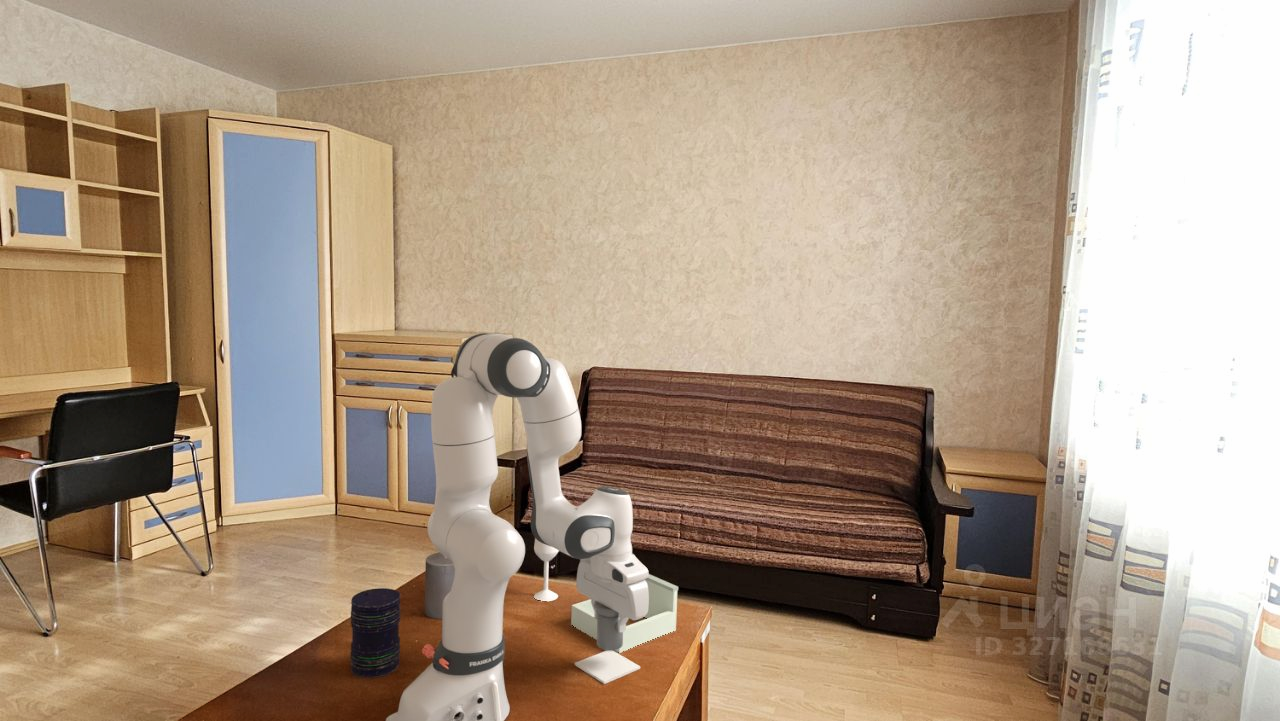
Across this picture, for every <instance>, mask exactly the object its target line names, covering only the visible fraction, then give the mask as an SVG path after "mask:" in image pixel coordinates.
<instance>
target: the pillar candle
mask: <svg viewBox="0 0 1280 721" xmlns="http://www.w3.org/2000/svg"><path fill="white" fill-rule="evenodd" d="M424 571H425V573H424V574H425V576H424V577H425V578H424V579H425V580H424V614H425V616H426V617H428V618H431V619H437V620H442V613H443V601H444V598H445V597H446V595H447V594H448V593H449V592H450V591H451V589H452V585H453V582H454V577H455V568H454V564H453V562H452V561H451V560H449V559H448V558H447V557H445V556H444V555H442V554H441V553H440V552H439V551H438V552H435V553H431V554H429V555H427V556H426V558H425V570H424Z"/></svg>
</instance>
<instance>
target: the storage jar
mask: <svg viewBox="0 0 1280 721" xmlns="http://www.w3.org/2000/svg"><path fill="white" fill-rule="evenodd" d="M350 604H351V606H350V607H351V609H350V626H351V628H352V631H351V632H352V633H351V637H352V639H351V643H350V655H349V656H350V663H351V664H350V665H351V666H350V672H351V673H352V675H354V676H355V677H358V678H364V679H373V678H379V677H383V676H386V675H389V674H392V673H393V672H394V671H395V670H397V669H398V668H399V666H400V655H401V654H400V653H401V638H400V635H399V633H400V632H399V631H400V630H399V629H400V626H399V624H400V621H401V593H400V592H399V591H398V590H395V589H394V588H393V589H392V588H386V587H385V588H384V587H382V588H381V587H379V588H378V587H377V588H371V589H367V590H363V591H359V592H358V593H356V594H354V595H353V596H352V597H351V602H350Z"/></svg>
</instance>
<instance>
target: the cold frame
mask: <svg viewBox="0 0 1280 721" xmlns="http://www.w3.org/2000/svg"><path fill="white" fill-rule="evenodd" d="M644 580H645V581H646V582H647V585H648V592H649V605H648V613H647V614H646V616H645V618H647V619H645V618H644V619H641V620H639V621H637V622H634V623H631V624H629V625H626V630H625V631H624V632H623V646H622V647H621V648H619V649H617V650H614V651H615V652H616V653H618V652H619V653H618V654H621V653H623V651H624V652H627V651H628V649H629V650H631V649H634V648H636V647H638V646H637V645H639V646H641V645H643V644H642V643H644V644H646V643H648V642H647V641H649V642H651V641H653V640H652V639H654V640H656V639H658V638H657V637H659V638H661V637H663V636H662V635H664V636H666V635H669V634H671V633H674V632H676V631H677V615H678V614H677V609H678V591H679V586H678V585H675V584H673V583H670V582H668V581H667V580H664V579H661V578H659V577H657V576H655V575H652V574H650V573H649V575H648V578H646V579H644ZM594 613H595V611H594V609H593V607H592V604H591V598H590V599H587V600H584V601H581V602H578V603H573V604H572V605H571V615H570V616H571V620H570V622H571V623H570V625H571V626H572V625H573V626H574V628H575V627H576V629H577V630H578V631H580V630H581V631H580V632H582V633H584V634H585V633H586V634H585V635H587V636H589V637H591V638H592V637H593V638H592V639H594V640H596V641H597V620H596V619H595V618H594ZM573 626H572V627H573ZM673 631H674V632H673ZM670 632H671V633H670ZM668 633H669V634H668ZM665 634H666V635H665ZM660 636H661V637H660ZM655 638H656V639H655ZM650 640H651V641H650ZM645 642H646V643H645ZM640 644H641V645H640ZM635 646H636V647H635ZM633 647H634V648H633ZM630 648H631V649H630Z"/></svg>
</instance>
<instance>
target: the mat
mask: <svg viewBox="0 0 1280 721" xmlns="http://www.w3.org/2000/svg"><path fill="white" fill-rule="evenodd" d="M574 666H576V667H577V668H579V669H581V670H582V671H584V673H586V674H588V675H589V676H590V677H592V678H594V679H596V680H598V681H599V682H600V683H602V684H603V685H605V684H608V683H610V682H613V681H615V680H617V679H619V678H622V677H624V676H626V675H630V674H631V673H633V672H636V671H638V670H640V669H641V666H640V665H638V664H637V663H635V662H633V661H632V660H630V659H628V658H626V657H625V656H623V655H621V653H618V652H616V651H615V650H604V651H602V652H599V653H597V654H594V655H591V656H589V657H586V658H584V659H581V660H579V661H576V662H574Z"/></svg>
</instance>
